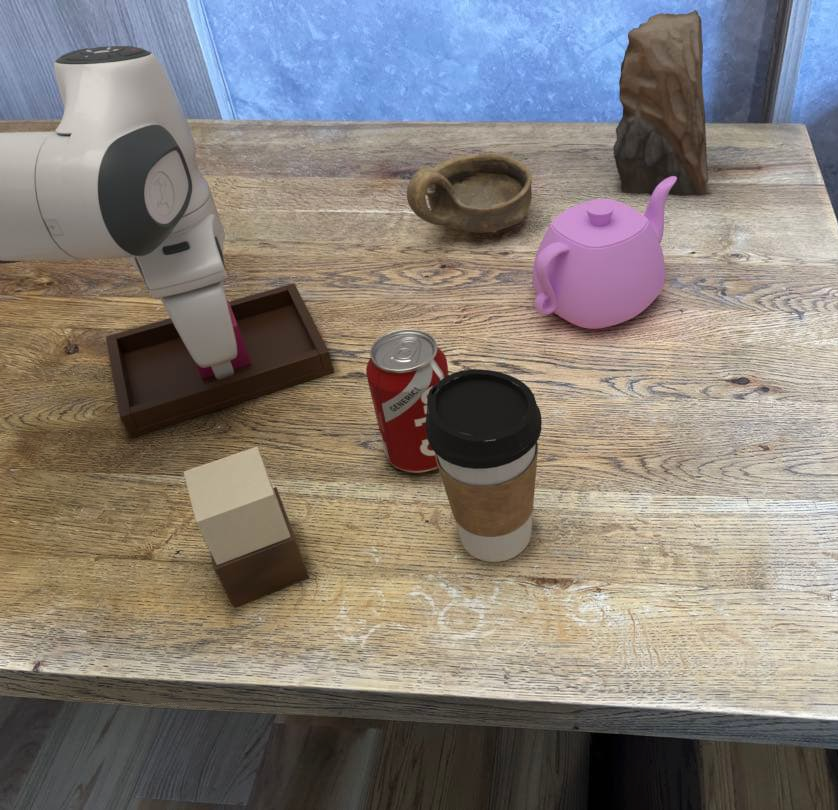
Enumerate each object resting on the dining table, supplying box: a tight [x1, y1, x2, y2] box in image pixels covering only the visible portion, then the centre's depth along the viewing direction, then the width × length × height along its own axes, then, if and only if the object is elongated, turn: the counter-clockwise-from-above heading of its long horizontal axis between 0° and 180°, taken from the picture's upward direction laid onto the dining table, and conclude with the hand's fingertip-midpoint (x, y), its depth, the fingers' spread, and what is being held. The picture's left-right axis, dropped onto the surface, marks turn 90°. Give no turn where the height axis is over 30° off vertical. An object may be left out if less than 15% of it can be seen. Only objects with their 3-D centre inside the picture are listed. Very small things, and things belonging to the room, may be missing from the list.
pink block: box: [195, 299, 251, 379], centre depth 83 cm, size 5×5×5 cm
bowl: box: [406, 152, 533, 234], centre depth 101 cm, size 14×18×10 cm
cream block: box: [183, 446, 290, 565], centre depth 61 cm, size 6×6×5 cm
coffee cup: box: [425, 368, 543, 563], centre depth 63 cm, size 8×8×15 cm
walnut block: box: [209, 486, 310, 609], centre depth 64 cm, size 6×6×5 cm
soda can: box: [365, 328, 450, 474], centre depth 71 cm, size 7×7×12 cm
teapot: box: [531, 176, 677, 330], centre depth 88 cm, size 20×13×12 cm, turn 130°
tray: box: [105, 282, 335, 439], centre depth 85 cm, size 20×14×3 cm
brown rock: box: [612, 9, 709, 196], centre depth 107 cm, size 13×13×20 cm
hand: (216, 348), depth 84 cm, fingers open, 8 cm apart
